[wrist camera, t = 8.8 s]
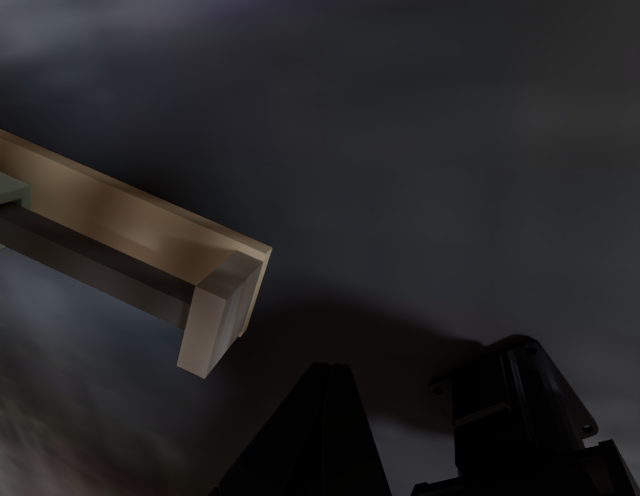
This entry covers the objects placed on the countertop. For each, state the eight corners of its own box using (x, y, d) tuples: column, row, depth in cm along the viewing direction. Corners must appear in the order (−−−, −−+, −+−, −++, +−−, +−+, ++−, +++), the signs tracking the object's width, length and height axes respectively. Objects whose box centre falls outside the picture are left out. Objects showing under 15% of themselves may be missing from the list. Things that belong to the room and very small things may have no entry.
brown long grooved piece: (272, 247, 24) (221, 298, 19) (246, 328, 27) (195, 395, 21) (-23, 118, 26) (-147, 131, 21) (-20, 206, 29) (-130, 237, 23)
